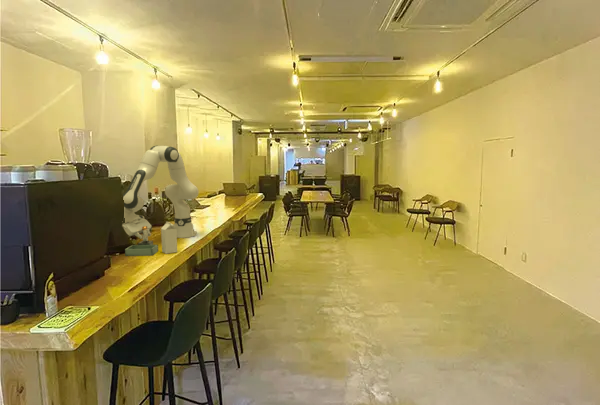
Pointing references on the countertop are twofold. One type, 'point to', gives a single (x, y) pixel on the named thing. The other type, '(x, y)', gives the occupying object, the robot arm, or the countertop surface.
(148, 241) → the socket block
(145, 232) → the lock pin
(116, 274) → the countertop surface
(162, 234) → the milk carton
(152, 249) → the tray
